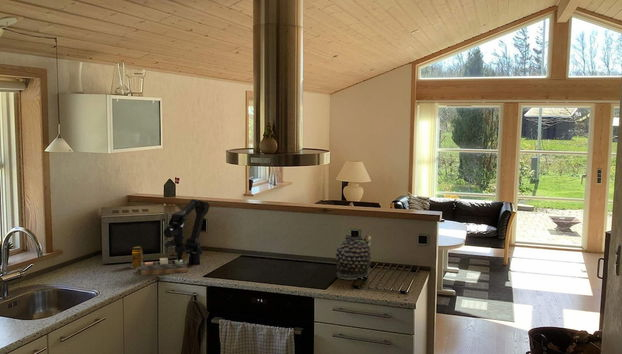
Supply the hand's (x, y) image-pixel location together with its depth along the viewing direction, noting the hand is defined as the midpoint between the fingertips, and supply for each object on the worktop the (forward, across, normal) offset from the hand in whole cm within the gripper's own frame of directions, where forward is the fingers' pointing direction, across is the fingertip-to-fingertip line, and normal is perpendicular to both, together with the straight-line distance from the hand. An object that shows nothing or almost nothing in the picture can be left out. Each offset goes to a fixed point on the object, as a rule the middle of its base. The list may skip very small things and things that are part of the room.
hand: (178, 260), depth 345 cm
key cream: (+1, 0, -8) cm, 9 cm away
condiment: (+6, -14, -22) cm, 27 cm away
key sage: (+3, 0, 0) cm, 3 cm away
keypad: (+5, 0, -8) cm, 10 cm away
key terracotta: (+3, 0, -17) cm, 17 cm away
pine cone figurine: (+6, +43, +93) cm, 103 cm away
